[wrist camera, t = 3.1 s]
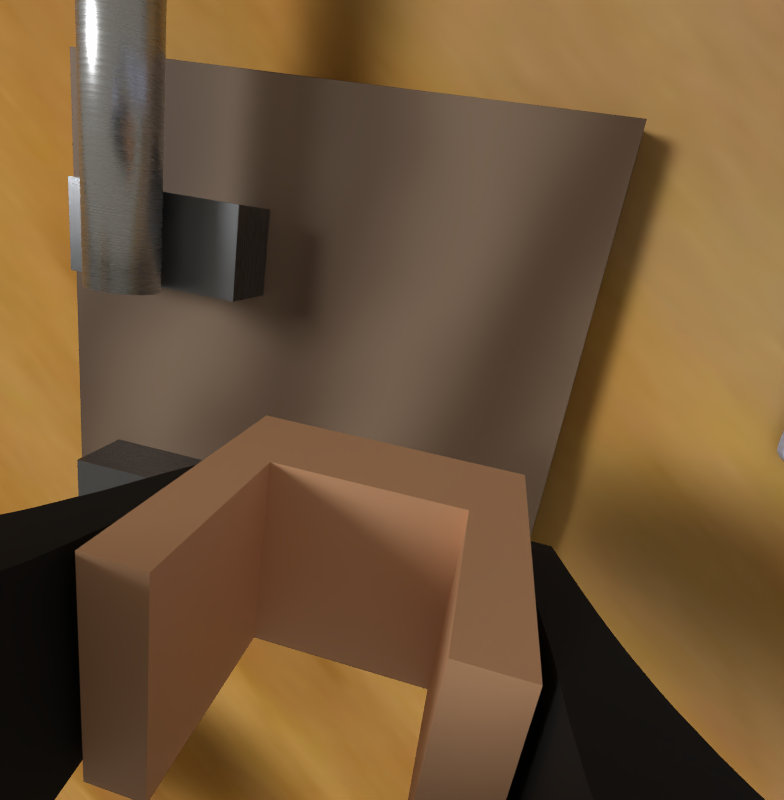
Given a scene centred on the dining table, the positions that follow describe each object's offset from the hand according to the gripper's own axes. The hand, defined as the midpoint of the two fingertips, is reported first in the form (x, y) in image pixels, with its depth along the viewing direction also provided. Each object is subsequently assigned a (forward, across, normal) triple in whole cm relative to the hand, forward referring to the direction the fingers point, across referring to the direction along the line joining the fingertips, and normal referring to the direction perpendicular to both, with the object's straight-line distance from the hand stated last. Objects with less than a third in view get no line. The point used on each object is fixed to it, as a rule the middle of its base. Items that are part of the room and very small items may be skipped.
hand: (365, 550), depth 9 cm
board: (+8, +4, 0) cm, 9 cm away
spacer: (+1, 0, 0) cm, 1 cm away
